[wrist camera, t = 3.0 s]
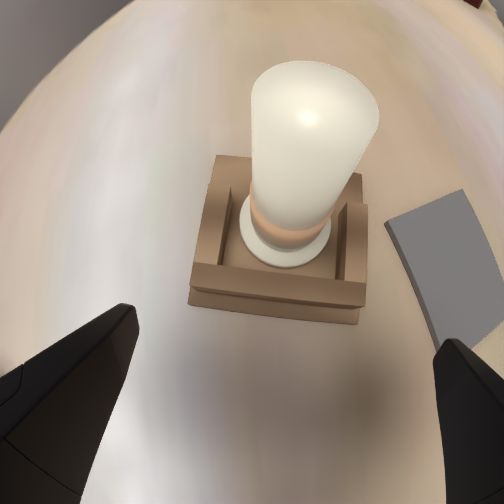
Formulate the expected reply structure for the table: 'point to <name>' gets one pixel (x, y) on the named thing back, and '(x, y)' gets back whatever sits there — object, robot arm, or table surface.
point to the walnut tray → (272, 279)
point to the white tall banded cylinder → (302, 157)
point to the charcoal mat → (450, 269)
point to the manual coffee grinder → (474, 3)
